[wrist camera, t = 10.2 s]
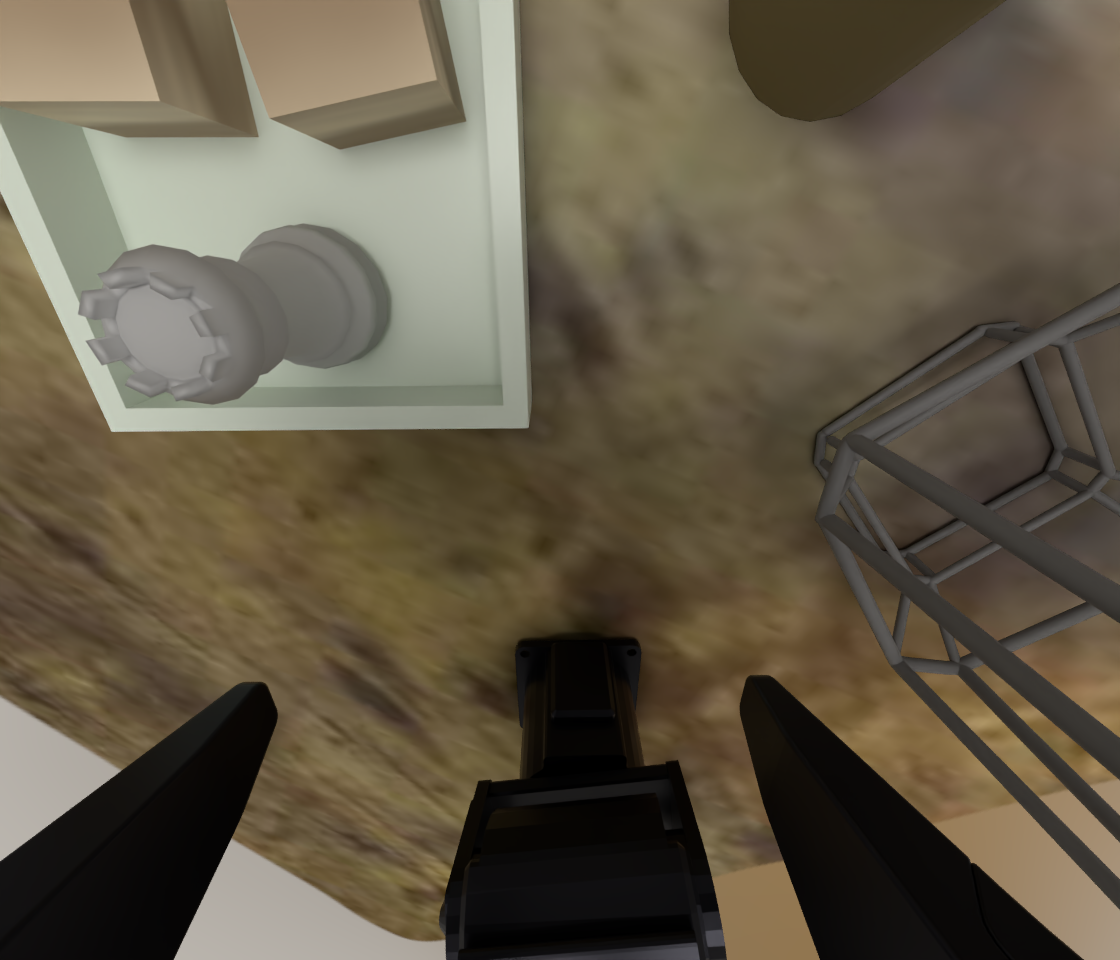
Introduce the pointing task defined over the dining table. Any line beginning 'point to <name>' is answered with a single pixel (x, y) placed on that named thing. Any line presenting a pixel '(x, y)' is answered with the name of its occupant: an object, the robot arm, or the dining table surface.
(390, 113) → the beech block
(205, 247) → the tray
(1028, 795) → the geometric lantern
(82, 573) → the dining table surface
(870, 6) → the cork
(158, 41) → the beech block
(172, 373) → the rook chess piece
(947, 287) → the dining table surface
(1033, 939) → the robot arm
